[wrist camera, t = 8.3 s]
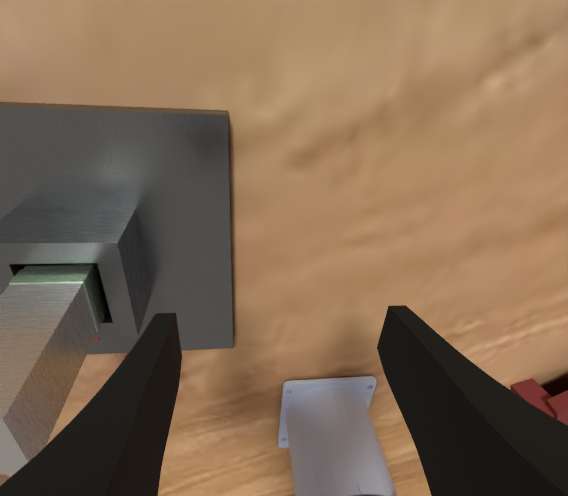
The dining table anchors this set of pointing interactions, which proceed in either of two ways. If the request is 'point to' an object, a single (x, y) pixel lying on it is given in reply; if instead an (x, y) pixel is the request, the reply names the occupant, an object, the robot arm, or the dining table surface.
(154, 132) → the stand
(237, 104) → the dining table surface
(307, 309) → the dining table surface
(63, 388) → the post
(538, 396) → the dark red bent panel
